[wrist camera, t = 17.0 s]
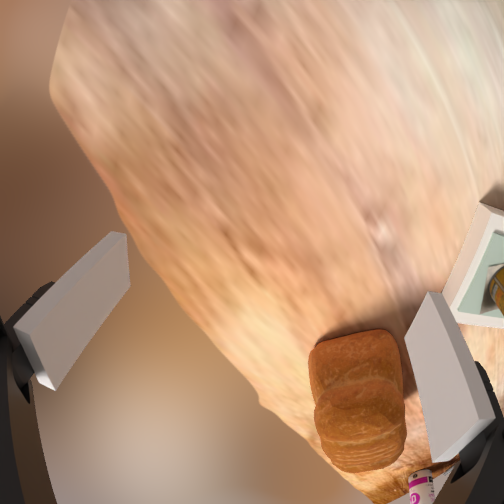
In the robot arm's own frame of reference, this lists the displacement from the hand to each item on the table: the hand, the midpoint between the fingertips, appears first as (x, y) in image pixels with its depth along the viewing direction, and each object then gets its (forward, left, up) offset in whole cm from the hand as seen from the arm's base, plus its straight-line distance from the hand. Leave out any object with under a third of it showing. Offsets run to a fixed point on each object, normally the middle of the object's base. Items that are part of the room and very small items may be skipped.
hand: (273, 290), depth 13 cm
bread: (+37, +20, -29) cm, 52 cm away
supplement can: (+86, +63, -29) cm, 110 cm away
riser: (+9, +35, -29) cm, 46 cm away
